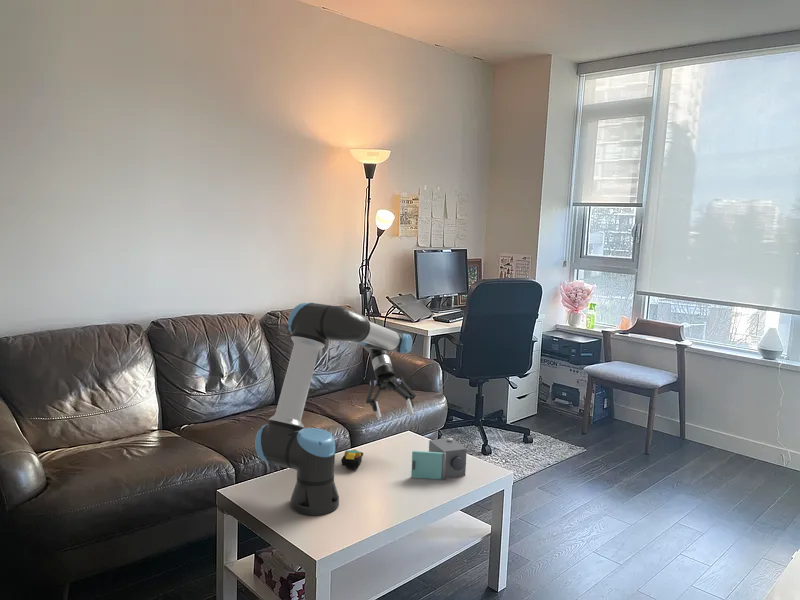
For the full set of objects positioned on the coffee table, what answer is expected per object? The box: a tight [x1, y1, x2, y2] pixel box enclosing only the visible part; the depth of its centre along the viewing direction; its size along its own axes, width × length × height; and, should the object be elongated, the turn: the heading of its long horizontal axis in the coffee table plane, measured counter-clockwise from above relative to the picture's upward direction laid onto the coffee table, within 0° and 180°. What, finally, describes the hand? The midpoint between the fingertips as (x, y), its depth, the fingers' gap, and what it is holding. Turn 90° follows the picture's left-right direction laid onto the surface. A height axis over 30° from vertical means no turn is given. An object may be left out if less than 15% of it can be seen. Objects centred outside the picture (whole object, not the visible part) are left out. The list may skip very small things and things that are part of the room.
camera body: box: [428, 437, 467, 479], centre depth 221 cm, size 9×14×11 cm, turn 23°
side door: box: [410, 450, 446, 481], centre depth 214 cm, size 12×2×10 cm, turn 85°
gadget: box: [341, 448, 364, 470], centre depth 224 cm, size 6×13×6 cm, turn 173°
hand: (396, 416), depth 231 cm, fingers open, 13 cm apart
